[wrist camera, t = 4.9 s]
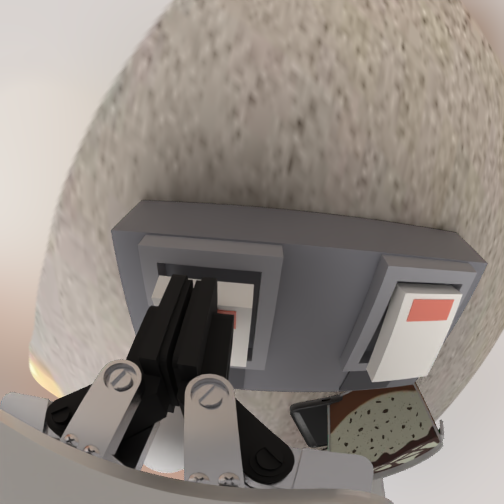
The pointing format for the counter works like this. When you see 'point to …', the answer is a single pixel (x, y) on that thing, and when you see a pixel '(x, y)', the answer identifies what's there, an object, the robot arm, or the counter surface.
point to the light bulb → (168, 445)
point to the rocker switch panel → (293, 281)
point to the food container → (384, 428)
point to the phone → (313, 420)
